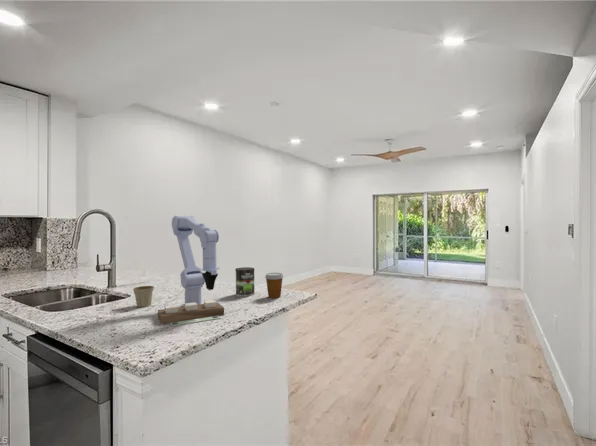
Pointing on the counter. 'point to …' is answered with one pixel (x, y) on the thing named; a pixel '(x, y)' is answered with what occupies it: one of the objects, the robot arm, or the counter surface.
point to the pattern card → (194, 320)
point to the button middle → (191, 306)
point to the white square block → (210, 304)
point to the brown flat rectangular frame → (190, 314)
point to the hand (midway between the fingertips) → (210, 289)
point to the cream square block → (171, 309)
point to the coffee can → (245, 281)
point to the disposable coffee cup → (274, 284)
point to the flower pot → (143, 295)
